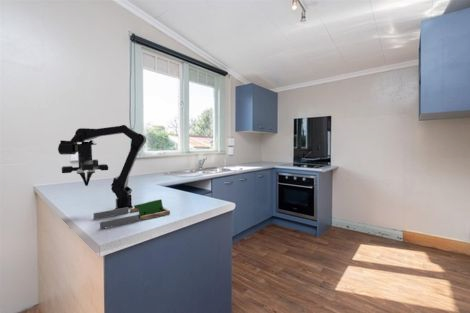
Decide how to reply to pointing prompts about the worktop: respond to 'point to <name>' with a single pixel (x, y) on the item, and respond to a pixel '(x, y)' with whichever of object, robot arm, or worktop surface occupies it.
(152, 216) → the bay
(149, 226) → the worktop surface
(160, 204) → the green bracket
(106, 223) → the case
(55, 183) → the worktop surface
